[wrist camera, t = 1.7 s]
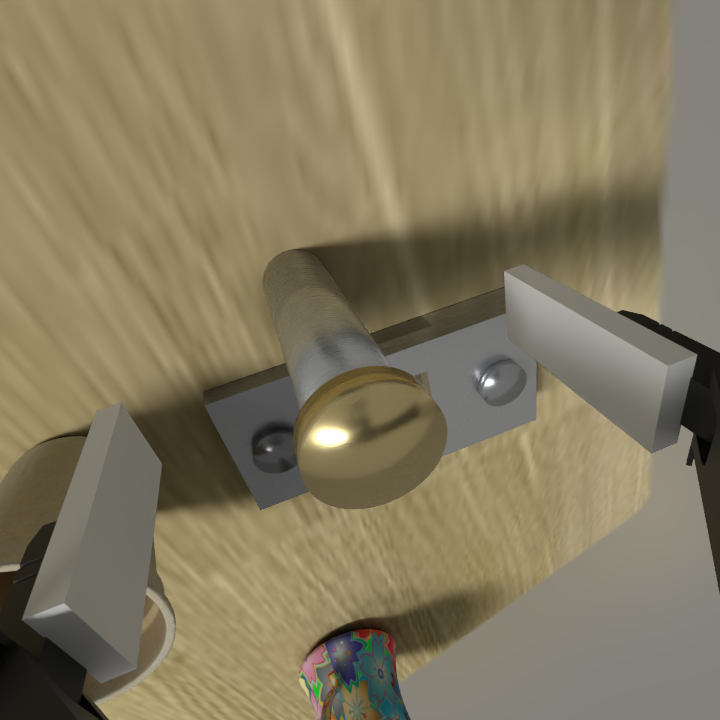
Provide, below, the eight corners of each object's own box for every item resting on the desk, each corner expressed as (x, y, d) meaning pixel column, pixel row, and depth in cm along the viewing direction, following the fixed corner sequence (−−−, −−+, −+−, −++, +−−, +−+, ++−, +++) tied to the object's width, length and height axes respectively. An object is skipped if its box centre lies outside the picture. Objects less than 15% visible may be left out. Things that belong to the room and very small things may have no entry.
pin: (241, 256, 20) (277, 423, 10) (323, 230, 20) (438, 365, 10) (269, 329, 22) (323, 528, 12) (343, 304, 22) (454, 475, 12)
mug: (411, 643, 41) (467, 791, 33) (324, 693, 41) (356, 855, 33) (355, 588, 35) (406, 757, 26) (251, 649, 35) (267, 838, 26)
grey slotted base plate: (204, 391, 22) (203, 429, 20) (510, 285, 24) (544, 307, 22) (258, 494, 27) (263, 535, 24) (513, 396, 29) (542, 425, 26)
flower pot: (108, 371, 21) (56, 520, 13) (217, 491, 26) (221, 644, 19) (-85, 465, 20) (-243, 670, 13) (66, 568, 25) (12, 752, 18)
